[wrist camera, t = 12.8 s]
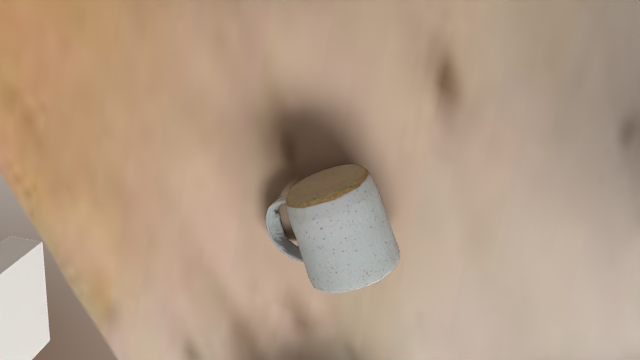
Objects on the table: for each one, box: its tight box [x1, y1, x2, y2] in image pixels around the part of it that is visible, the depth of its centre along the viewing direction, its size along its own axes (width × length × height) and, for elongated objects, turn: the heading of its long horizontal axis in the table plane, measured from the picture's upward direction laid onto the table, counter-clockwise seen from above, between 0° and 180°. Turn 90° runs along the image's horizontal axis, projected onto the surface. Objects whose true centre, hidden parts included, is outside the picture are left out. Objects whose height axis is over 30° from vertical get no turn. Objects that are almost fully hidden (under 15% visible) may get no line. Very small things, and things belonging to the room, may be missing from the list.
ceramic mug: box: [266, 164, 400, 293], centre depth 44 cm, size 11×8×8 cm
